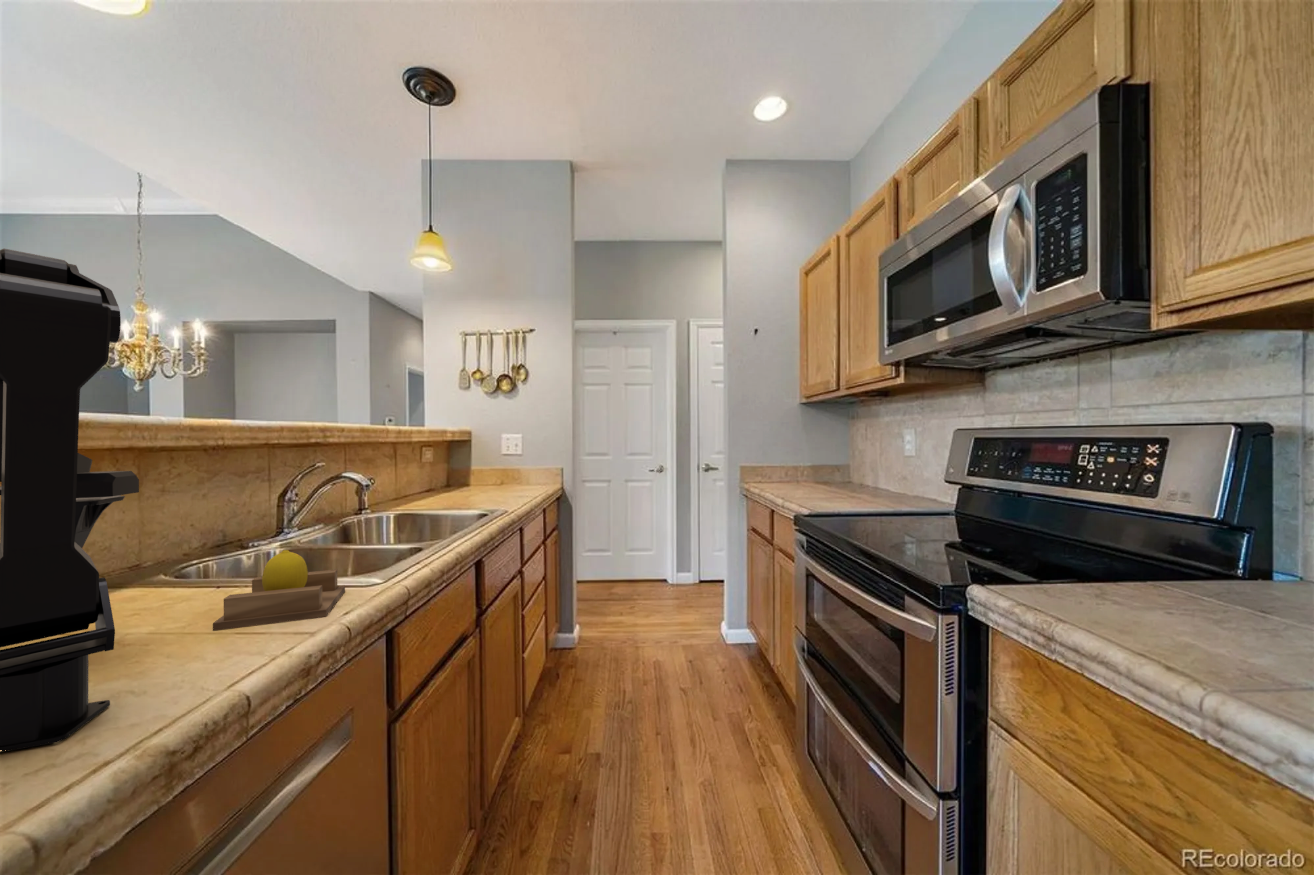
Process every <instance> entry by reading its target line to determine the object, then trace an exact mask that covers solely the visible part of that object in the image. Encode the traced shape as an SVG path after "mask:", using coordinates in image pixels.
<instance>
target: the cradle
mask: <svg viewBox="0 0 1314 875" xmlns="http://www.w3.org/2000/svg"><path fill="white" fill-rule="evenodd" d="M262 576H263V575H262ZM262 576H256V577H255V578H253V579H251V592H246V593H235V594H229V595H227V596H226V597H225V598H223V615H222V616H220V617H219V618H218V619H216V620H215V621H214V622H212V631H221V630H228V629H237V628H245V627H252V626H253V627H254V626H261V625H270V624H277V623H285V622H293V621H295V622H296V621H301V620H308V619H309V620H310V619H319V618H327V617H328V616H329V614H330V612H331V611H332V610H333V608H334V607H335V606H336V604H337V603H338V602H337V601H339V600H340V599H341V598H342V596H343V595H344V594H345V592H346V585H338V569H327V570H317V571H315V570H314V571H308V578H307V582H306V584H305V586H304V587H302V588H292V589H282V590H272V591H265V590H264V588H263V584H262ZM343 593H344V594H343ZM342 594H343V595H342ZM340 597H341V598H340ZM339 598H340V599H339ZM336 602H337V603H336ZM334 605H335V606H334ZM333 606H334V607H333ZM328 613H329V614H328ZM318 617H319V618H318Z"/></svg>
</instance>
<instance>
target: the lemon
mask: <svg viewBox="0 0 1314 875" xmlns="http://www.w3.org/2000/svg"><path fill="white" fill-rule="evenodd" d="M308 572H309V571H308V565H307V563H306V560H305V558H304V557H303V556H301V555H300V554H297V553H296V552H291V551H289V549H284V550H282V551H281V552H280V553H277V554H275V555H274V556H273V557H271V558H270V559H269V560H267V562H266V564H265V566H264V569H263V572H262V584H263V588H264V590H265V591H272V590H282V589H292V588H302V587H304V586H305V584H306V582H307V578H308Z"/></svg>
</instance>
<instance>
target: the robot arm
mask: <svg viewBox="0 0 1314 875" xmlns="http://www.w3.org/2000/svg"><path fill="white" fill-rule="evenodd" d="M121 321H122V320H121V310H120V306H119V304H118V301H117V299H116V297H115V294H114V292H113V291H112V289H110V288H108V287H106V286H105V285H102V284H101V283H99V282H98V281H96V280H94V279H91V278H90V277H88V276H87V275H84V274H82V273H80V271H79V268H78V266H77V264H72V263H69V262H67V261H66V260H65V259H59V258H55V257H50V256H45V255H40V254H34V253H31V252H30V253H28V252H23V251H19V250H14V249H8V248H1V249H0V484H1V486H0V498H1V499H0V750H2V751H5V750H6V751H5V752H9V751H8V750H10V751H15V750H16V751H17V750H21V749H27V748H32V747H37V746H44V745H50V744H55V743H58V742H59V743H60V742H62V741H64V740H66V739H68V738H69V737H70V736H72V734H75V732H76V731H78V730H79V729H81V728H82V727H83V726H85V725H86V724H87V723H88V722H90V721H91V720H93V719H94V718H95V717H97V716H98V715H99V714H101V713H102V712H103V711H104V710H106V709H107V708H108V707H110V706H111V700H110V699H106V700H99V701H94V702H93V701H91V702H89V655H93V654H96V653H100V652H109V651H113V650H114V649H115V640H116V639H115V636H116V628H115V623H114V618H113V610H112V605H111V600H110V594H109V588H108V583H107V580H106V578H105V577H100V572H99V571H98V569H97V567H96V565H95V563H94V561H93V559H92V557H91V556H90V555H89V554H88V553H87V552H86V551H85V550H84V549H83V547H84V546H85V543H86V541H87V540H88V537H89V535H90V534H91V531H92V529H93V528H94V526H95V524H96V522H97V521H98V520H99V518H100V517H101V515H102V514H103V512H104V511H105V510H106V509H107V508H109V506H110V505H112V503H115V502H120V501H124V499H125V497H126V496H125V495H131V494H137V493H140V479H139V477H138V476H137V475H136V474H135V473H134V472H133V471H132V470H112V471H110V470H108V471H91V468H92V463H93V459H92V458H89V457H87V456H85V455H84V454H81V453H79V429H80V428H79V427H80V400H81V399H80V396H81V389H82V388H83V387H84V386H85V384H87V383H88V382H89V381H90V380H91V379H92V378H93V377H94V376H95V375H96V374H98V372H99V371H100V370H102V368H104V367H105V365H107V363H108V362H109V357H110V356H109V353H110V343H111V344H117V343H118V341H119V339H120V335H121V334H120V333H121ZM91 624H95V625H94V626H95V629H91V630H88V629H89V626H90V625H91ZM85 630H87V631H85ZM79 631H83V632H79ZM74 632H75V633H74ZM76 632H77V633H76ZM70 633H73V634H70ZM65 634H69V635H65ZM61 635H64V636H61ZM56 636H59V637H56ZM51 637H55V638H51ZM47 638H49V639H47ZM42 639H45V640H42ZM38 640H41V641H38ZM33 641H37V642H33ZM28 642H30V643H28ZM31 642H32V643H31ZM24 643H27V644H24ZM18 644H22V645H18ZM14 645H16V646H14ZM17 645H18V646H17ZM10 646H13V647H10ZM4 647H8V648H4ZM1 648H4V649H1Z"/></svg>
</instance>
